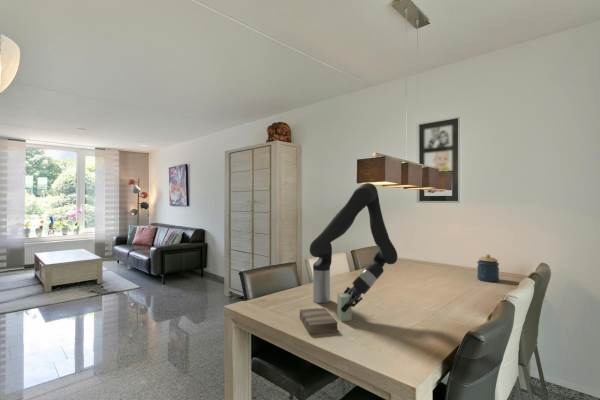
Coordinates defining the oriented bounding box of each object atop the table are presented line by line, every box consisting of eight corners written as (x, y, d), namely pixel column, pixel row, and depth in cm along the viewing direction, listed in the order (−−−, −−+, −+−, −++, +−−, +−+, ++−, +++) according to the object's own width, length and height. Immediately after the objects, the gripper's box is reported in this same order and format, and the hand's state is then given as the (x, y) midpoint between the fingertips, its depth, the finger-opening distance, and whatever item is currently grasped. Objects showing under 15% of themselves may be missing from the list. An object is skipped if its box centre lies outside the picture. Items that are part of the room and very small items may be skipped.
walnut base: (299, 318, 143) (299, 309, 143) (324, 316, 146) (324, 307, 146) (309, 334, 125) (309, 324, 125) (337, 331, 128) (337, 322, 128)
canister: (479, 281, 208) (479, 255, 209) (475, 277, 221) (475, 252, 221) (502, 283, 205) (501, 256, 205) (495, 278, 217) (495, 253, 217)
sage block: (337, 317, 144) (337, 293, 144) (347, 316, 145) (347, 293, 146) (341, 321, 140) (341, 296, 140) (351, 320, 141) (351, 296, 141)
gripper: (353, 272, 151) (330, 298, 149) (365, 279, 137) (340, 309, 135) (363, 282, 152) (340, 309, 150) (376, 291, 138) (351, 320, 136)
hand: (340, 308), depth 142 cm, fingers closed on sage block, 5 cm apart
